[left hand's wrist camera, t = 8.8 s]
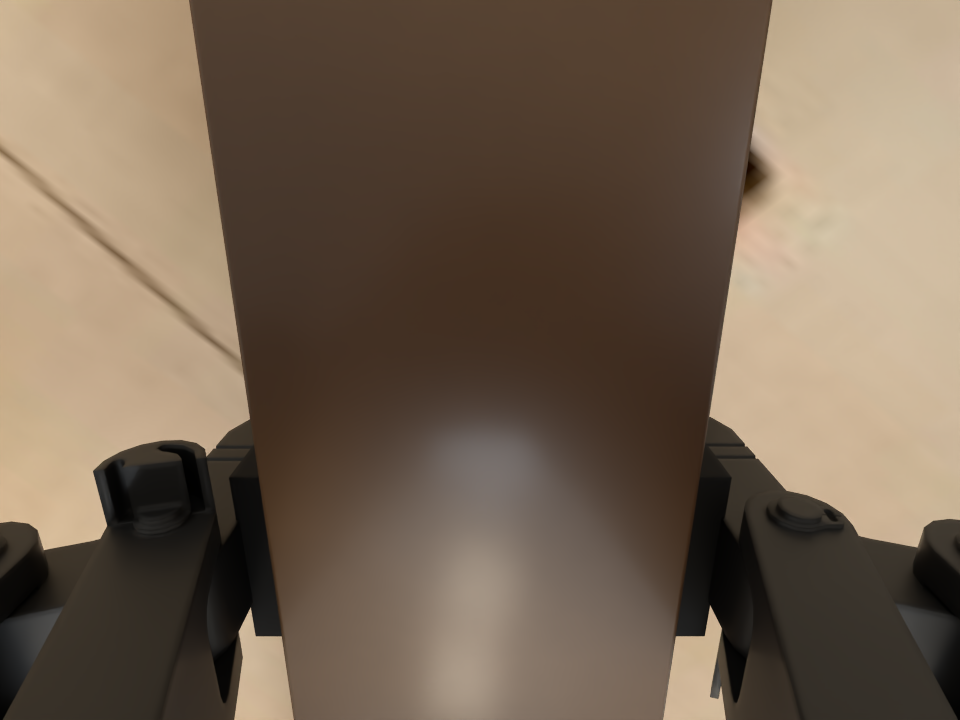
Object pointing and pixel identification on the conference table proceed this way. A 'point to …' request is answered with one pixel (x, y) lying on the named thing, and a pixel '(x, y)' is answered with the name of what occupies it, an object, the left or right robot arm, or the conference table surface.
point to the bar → (479, 332)
